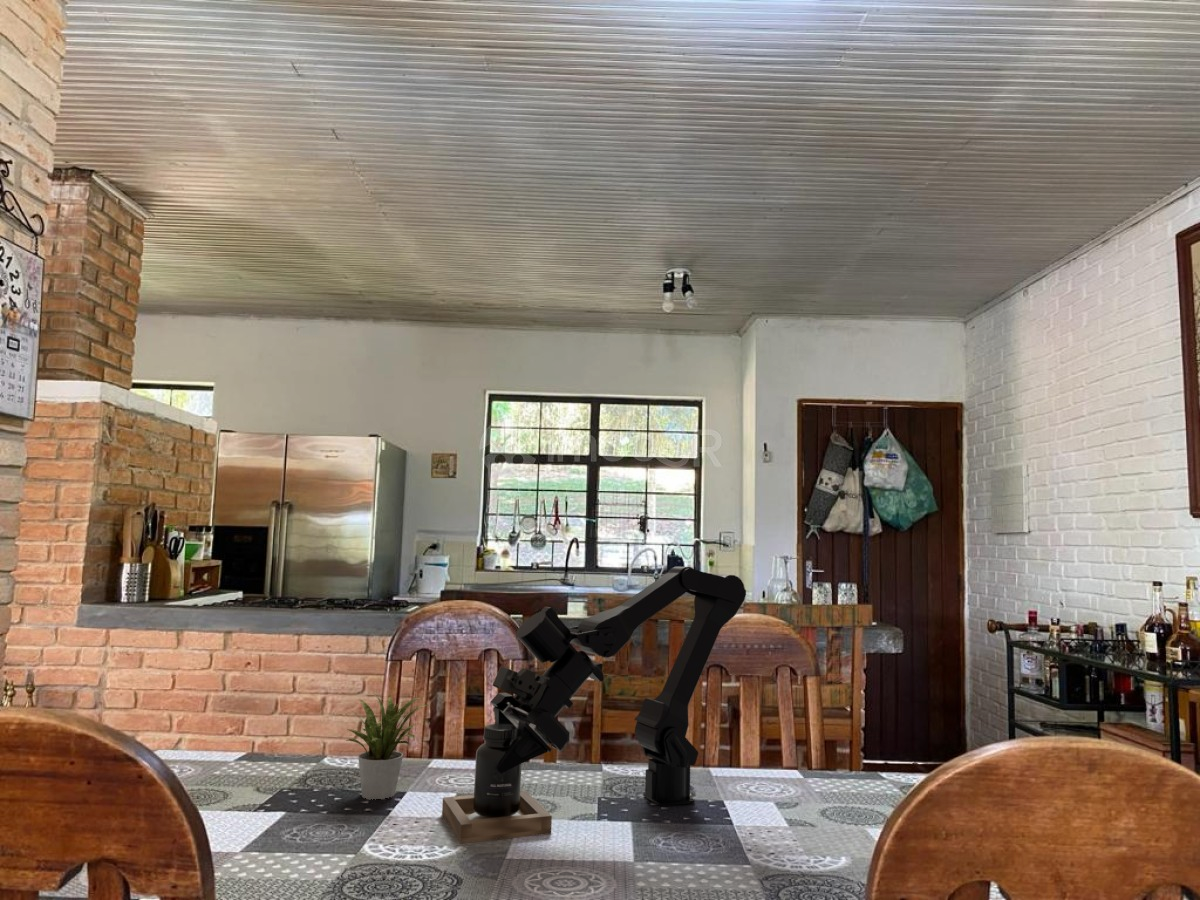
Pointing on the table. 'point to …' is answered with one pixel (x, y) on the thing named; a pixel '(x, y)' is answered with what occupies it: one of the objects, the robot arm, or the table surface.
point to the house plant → (382, 749)
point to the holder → (495, 820)
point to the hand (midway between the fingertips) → (489, 765)
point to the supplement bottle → (496, 774)
